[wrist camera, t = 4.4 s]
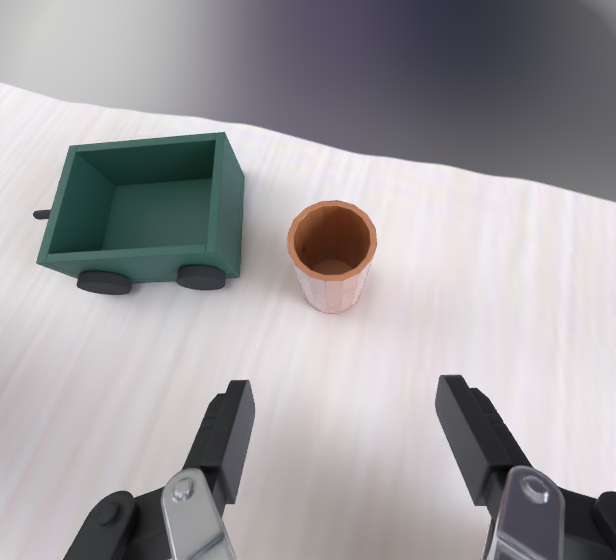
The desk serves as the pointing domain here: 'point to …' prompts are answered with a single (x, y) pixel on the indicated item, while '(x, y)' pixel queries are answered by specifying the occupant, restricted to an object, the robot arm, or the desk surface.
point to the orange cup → (332, 253)
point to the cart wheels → (120, 285)
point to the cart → (147, 208)
